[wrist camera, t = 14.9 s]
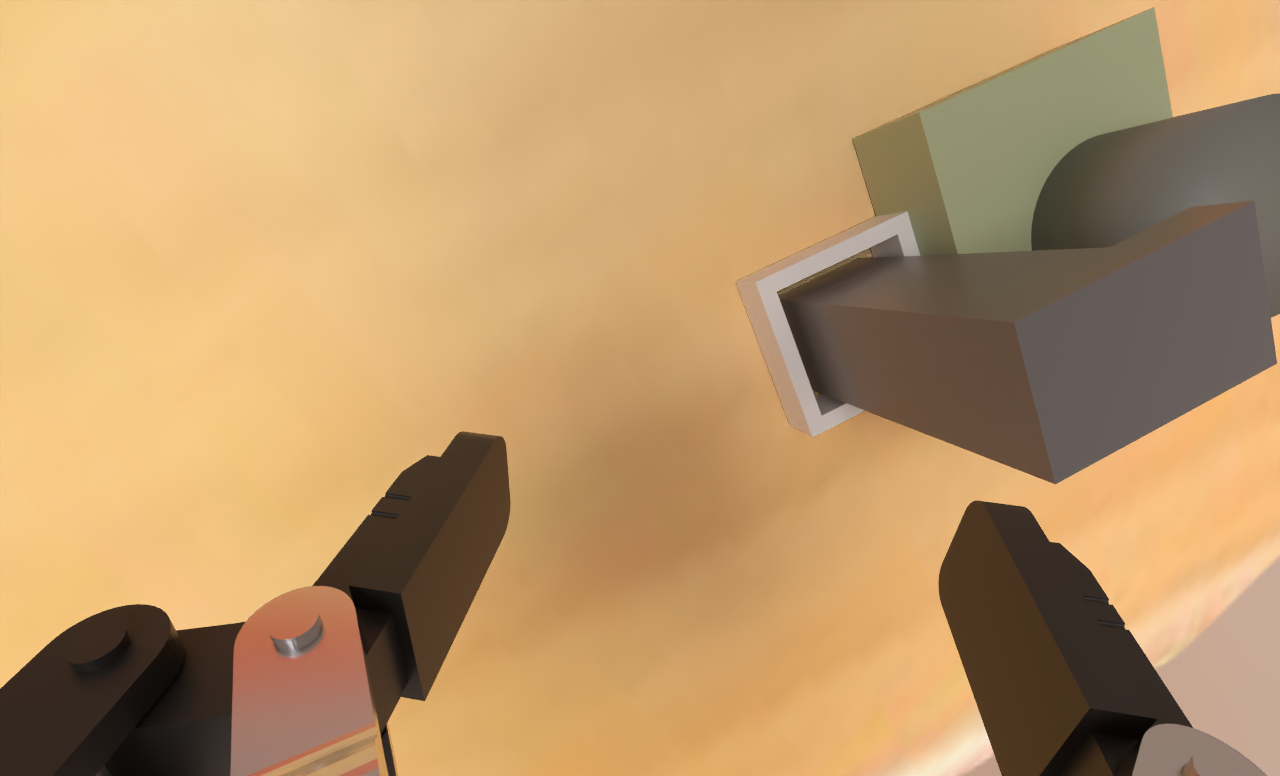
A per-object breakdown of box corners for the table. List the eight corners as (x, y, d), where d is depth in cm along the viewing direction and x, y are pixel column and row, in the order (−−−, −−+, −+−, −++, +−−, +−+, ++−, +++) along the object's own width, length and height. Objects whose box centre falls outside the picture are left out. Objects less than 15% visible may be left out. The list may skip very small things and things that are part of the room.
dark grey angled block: (804, 387, 31) (1055, 484, 17) (772, 298, 30) (1013, 322, 16) (933, 323, 32) (1277, 363, 18) (907, 234, 31) (1254, 200, 16)
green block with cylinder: (1053, 49, 31) (1339, -70, 20) (1113, 332, 35) (1377, 358, 24) (706, 204, 28) (821, 163, 18) (813, 488, 32) (959, 591, 22)
